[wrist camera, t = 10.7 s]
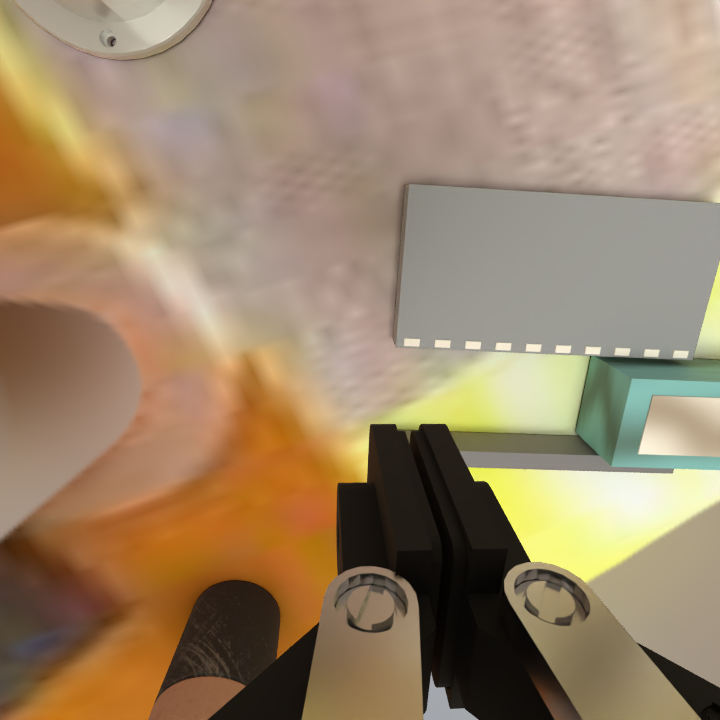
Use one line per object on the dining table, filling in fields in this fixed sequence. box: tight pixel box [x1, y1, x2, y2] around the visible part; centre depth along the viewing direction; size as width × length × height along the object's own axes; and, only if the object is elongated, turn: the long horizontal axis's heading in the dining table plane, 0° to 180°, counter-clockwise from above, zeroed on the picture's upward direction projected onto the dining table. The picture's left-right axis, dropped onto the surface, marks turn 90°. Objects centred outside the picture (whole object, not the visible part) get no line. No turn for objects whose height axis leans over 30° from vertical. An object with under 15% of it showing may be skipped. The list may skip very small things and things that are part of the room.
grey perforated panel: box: [393, 184, 720, 473], centre depth 33 cm, size 18×20×3 cm
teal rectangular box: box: [576, 356, 720, 470], centre depth 33 cm, size 6×10×5 cm, turn 87°
